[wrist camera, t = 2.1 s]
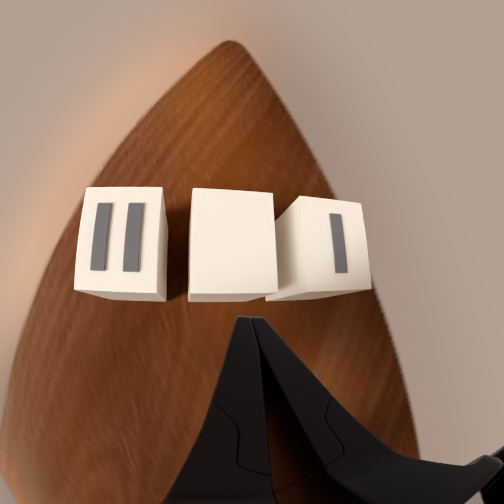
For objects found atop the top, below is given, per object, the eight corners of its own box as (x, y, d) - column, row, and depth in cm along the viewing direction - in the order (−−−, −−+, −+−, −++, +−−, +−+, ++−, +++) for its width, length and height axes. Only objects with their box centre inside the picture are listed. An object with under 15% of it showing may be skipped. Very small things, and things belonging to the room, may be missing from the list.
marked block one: (315, 299, 21) (373, 288, 14) (265, 301, 20) (308, 291, 13) (310, 233, 22) (361, 198, 15) (262, 230, 21) (300, 190, 14)
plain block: (245, 301, 19) (278, 292, 13) (188, 301, 18) (190, 293, 12) (243, 233, 20) (272, 193, 14) (188, 231, 19) (192, 188, 13)
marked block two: (166, 301, 18) (156, 292, 11) (111, 299, 17) (72, 289, 10) (168, 227, 19) (162, 181, 12) (115, 226, 18) (86, 181, 11)
